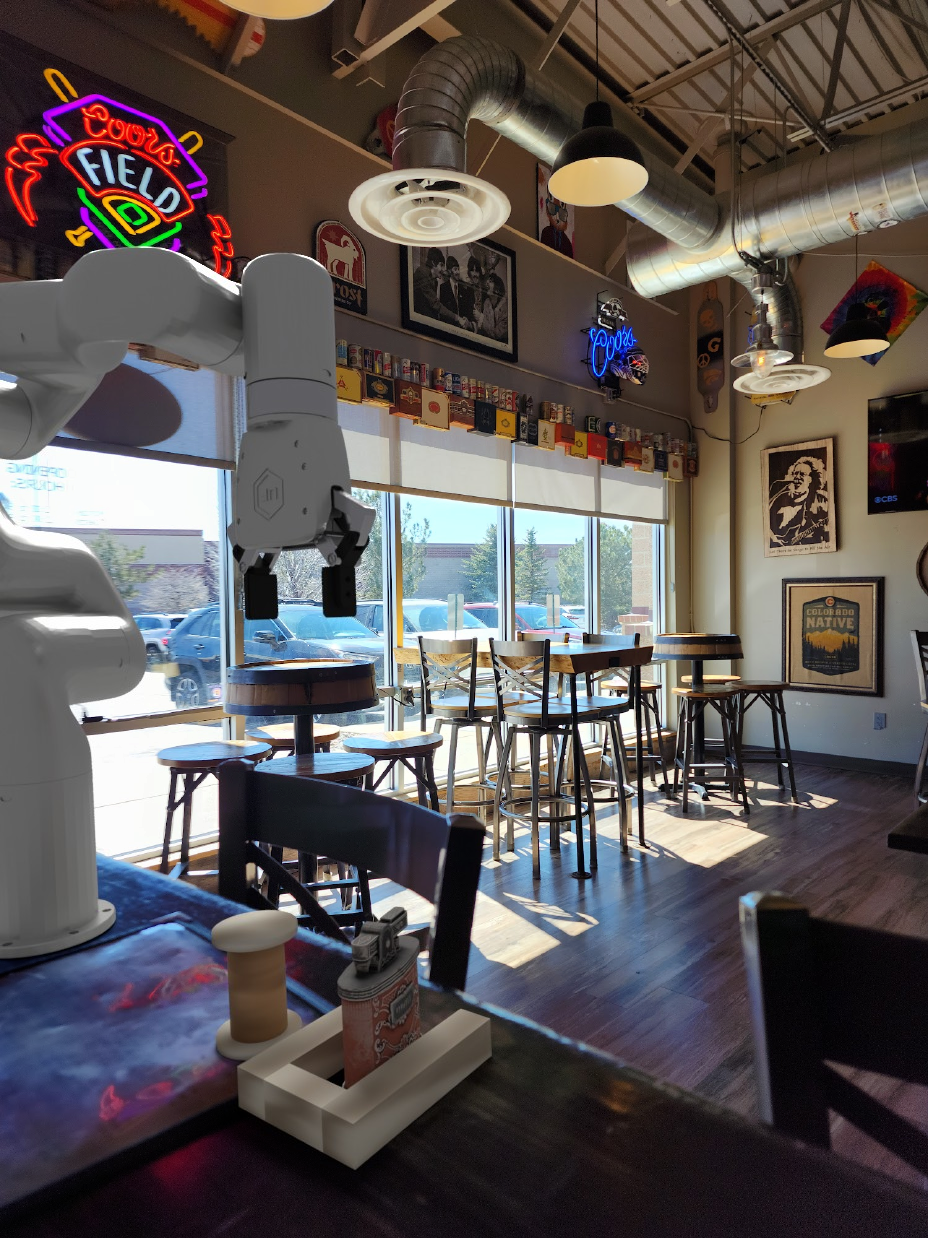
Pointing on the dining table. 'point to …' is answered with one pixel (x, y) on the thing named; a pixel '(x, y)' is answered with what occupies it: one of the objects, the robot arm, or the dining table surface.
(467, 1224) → the dining table surface
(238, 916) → the bobbin
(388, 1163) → the dining table surface
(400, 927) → the lighter
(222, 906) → the dining table surface
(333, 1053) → the notched board
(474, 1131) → the dining table surface
